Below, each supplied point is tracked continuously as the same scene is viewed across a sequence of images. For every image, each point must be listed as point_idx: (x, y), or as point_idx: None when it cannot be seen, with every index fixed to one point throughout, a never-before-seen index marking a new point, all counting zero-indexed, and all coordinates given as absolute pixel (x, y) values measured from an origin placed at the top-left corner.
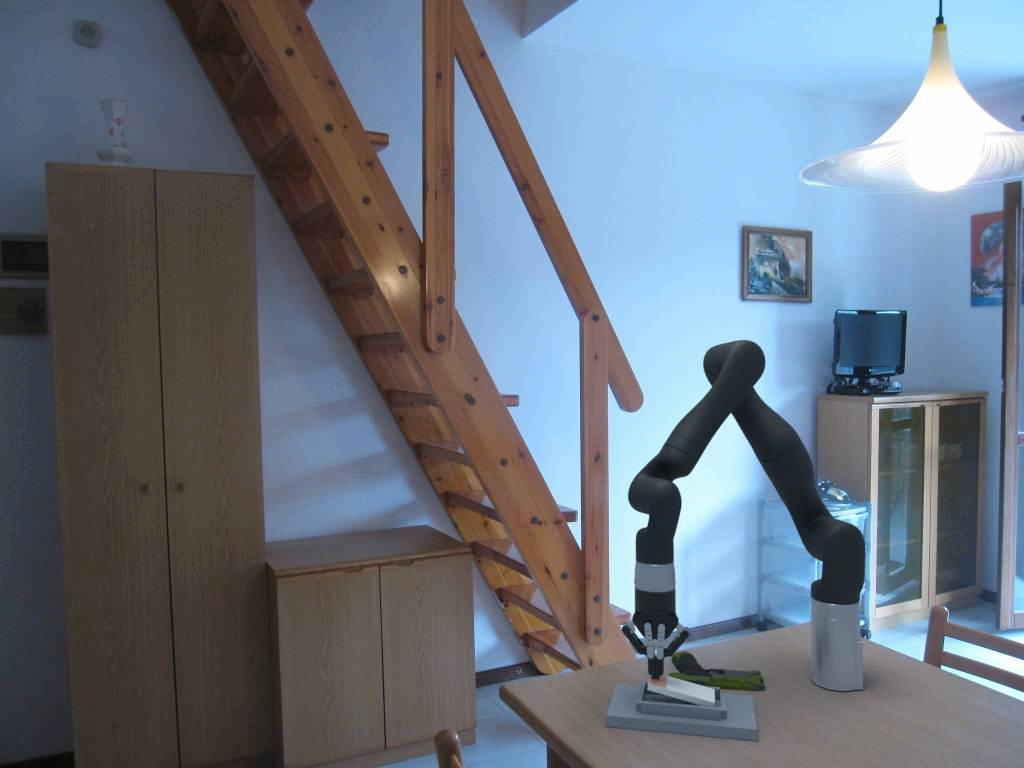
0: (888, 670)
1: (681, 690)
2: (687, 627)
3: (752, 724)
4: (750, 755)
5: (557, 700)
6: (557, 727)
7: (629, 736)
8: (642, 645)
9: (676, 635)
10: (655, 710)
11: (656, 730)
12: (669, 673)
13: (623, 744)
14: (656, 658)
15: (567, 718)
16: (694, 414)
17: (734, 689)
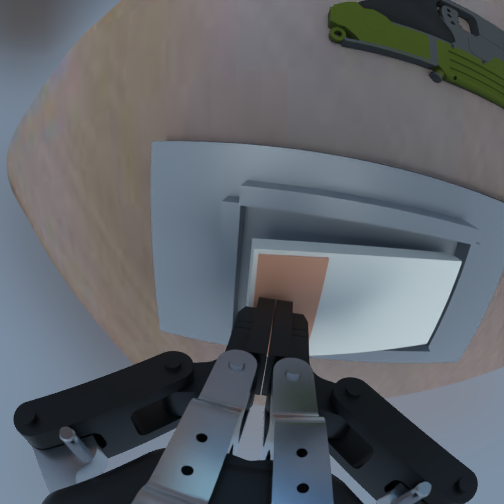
0: None
1: (356, 338)
2: (469, 499)
3: (462, 345)
4: (417, 385)
5: (62, 202)
6: (96, 313)
7: (219, 350)
8: (175, 400)
9: (378, 501)
10: None
11: None
12: (333, 7)
13: None
14: (266, 386)
15: (97, 281)
16: None
17: (491, 101)
